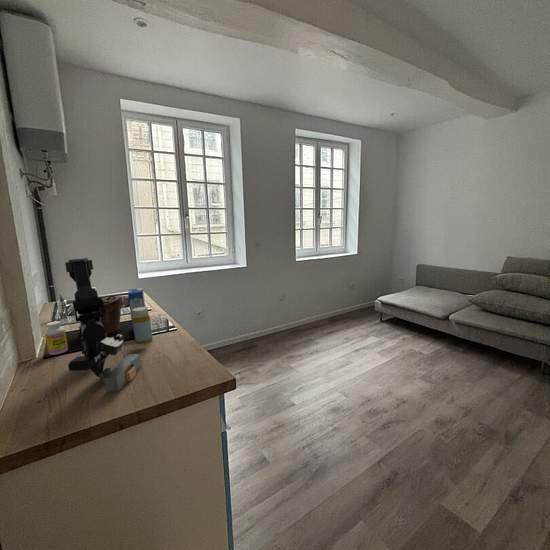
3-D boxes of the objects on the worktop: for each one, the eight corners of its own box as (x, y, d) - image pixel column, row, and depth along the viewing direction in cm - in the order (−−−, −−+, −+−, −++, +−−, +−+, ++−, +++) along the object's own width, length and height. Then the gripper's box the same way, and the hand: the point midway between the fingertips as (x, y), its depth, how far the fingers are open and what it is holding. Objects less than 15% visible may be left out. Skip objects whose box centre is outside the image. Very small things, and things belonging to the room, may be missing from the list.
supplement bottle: (53, 356, 116) (46, 326, 114) (46, 353, 119) (40, 324, 117) (71, 350, 121) (66, 321, 119) (64, 347, 125) (59, 319, 123)
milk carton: (134, 327, 146) (129, 289, 142) (147, 325, 148) (142, 287, 145) (133, 334, 137) (127, 293, 133) (147, 331, 139) (142, 291, 136)
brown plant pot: (135, 326, 147) (129, 292, 143) (94, 341, 130) (87, 303, 127) (116, 322, 156) (111, 290, 153) (76, 335, 140) (68, 300, 137)
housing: (105, 392, 89) (103, 378, 88) (130, 366, 104) (128, 354, 103) (118, 391, 89) (116, 377, 88) (141, 366, 104) (139, 353, 104)
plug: (100, 382, 94) (99, 374, 94) (107, 376, 98) (105, 368, 98) (130, 380, 95) (129, 372, 94) (136, 374, 99) (135, 366, 98)
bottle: (132, 343, 126) (127, 310, 123) (144, 336, 132) (140, 305, 130) (144, 344, 123) (139, 311, 121) (156, 338, 130) (152, 307, 127)
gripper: (100, 343, 84) (108, 391, 87) (131, 322, 103) (136, 362, 105) (62, 345, 84) (71, 393, 87) (99, 323, 102) (106, 363, 105)
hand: (99, 376), depth 96 cm, fingers closed, pressing on plug
